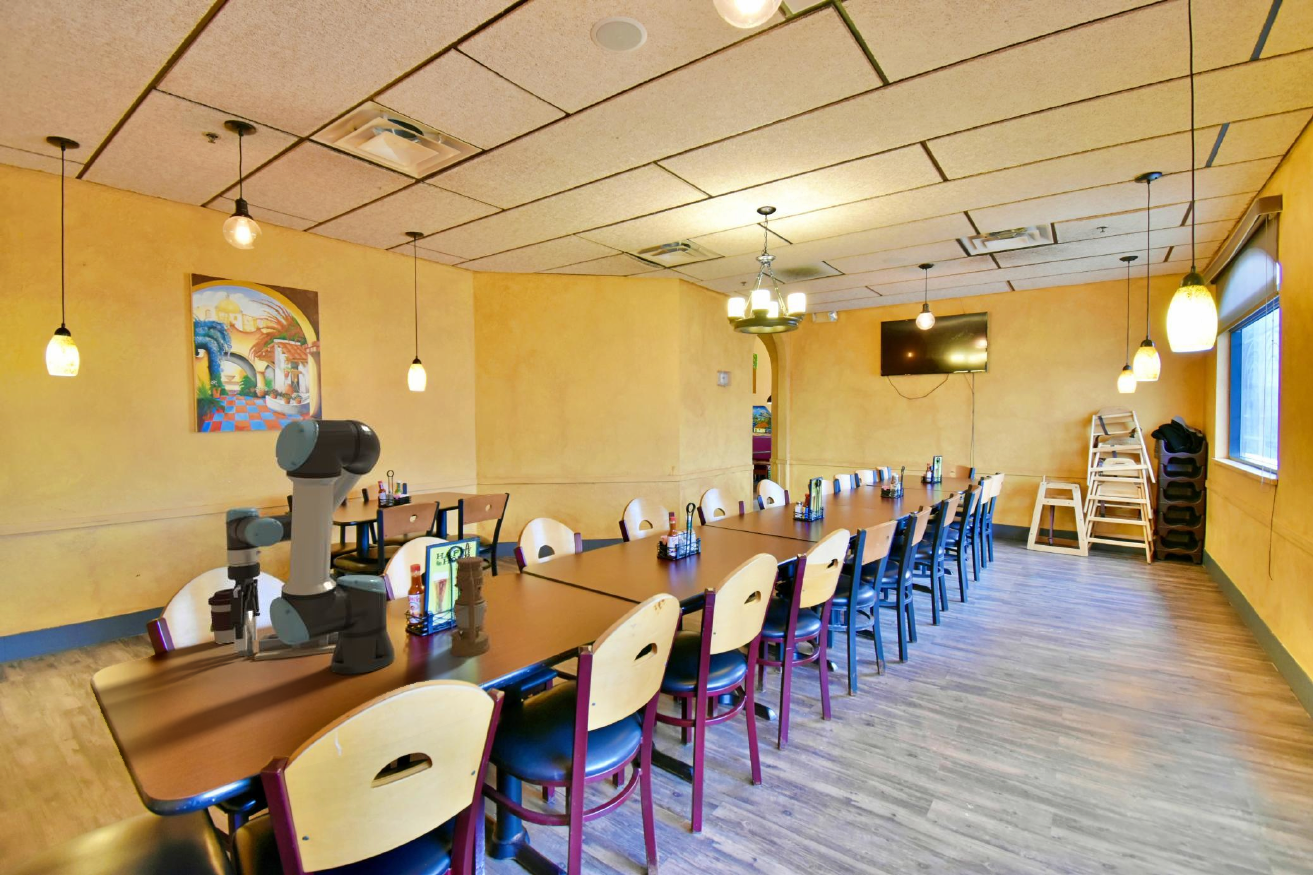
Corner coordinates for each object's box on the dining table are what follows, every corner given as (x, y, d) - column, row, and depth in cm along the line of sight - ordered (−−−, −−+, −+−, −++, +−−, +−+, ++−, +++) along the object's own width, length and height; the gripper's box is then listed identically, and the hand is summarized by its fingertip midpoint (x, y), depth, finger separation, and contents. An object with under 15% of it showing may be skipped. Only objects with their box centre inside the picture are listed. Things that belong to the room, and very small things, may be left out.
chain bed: (359, 649, 171) (359, 630, 171) (254, 660, 164) (254, 641, 164) (367, 635, 183) (366, 618, 183) (269, 646, 176) (268, 628, 176)
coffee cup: (257, 637, 183) (256, 588, 183) (222, 648, 174) (220, 596, 174) (237, 633, 188) (235, 585, 187) (202, 644, 179) (200, 593, 178)
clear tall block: (251, 655, 168) (250, 612, 168) (236, 657, 167) (235, 614, 167) (256, 651, 171) (254, 609, 171) (241, 653, 170) (240, 610, 170)
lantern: (441, 647, 171) (438, 541, 171) (476, 638, 178) (473, 536, 178) (463, 662, 160) (460, 548, 160) (499, 652, 167) (497, 543, 166)
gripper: (246, 569, 160) (248, 656, 161) (270, 555, 180) (273, 632, 180) (213, 572, 158) (215, 659, 158) (241, 557, 177) (243, 635, 178)
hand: (246, 645), depth 169 cm, fingers open, 7 cm apart
